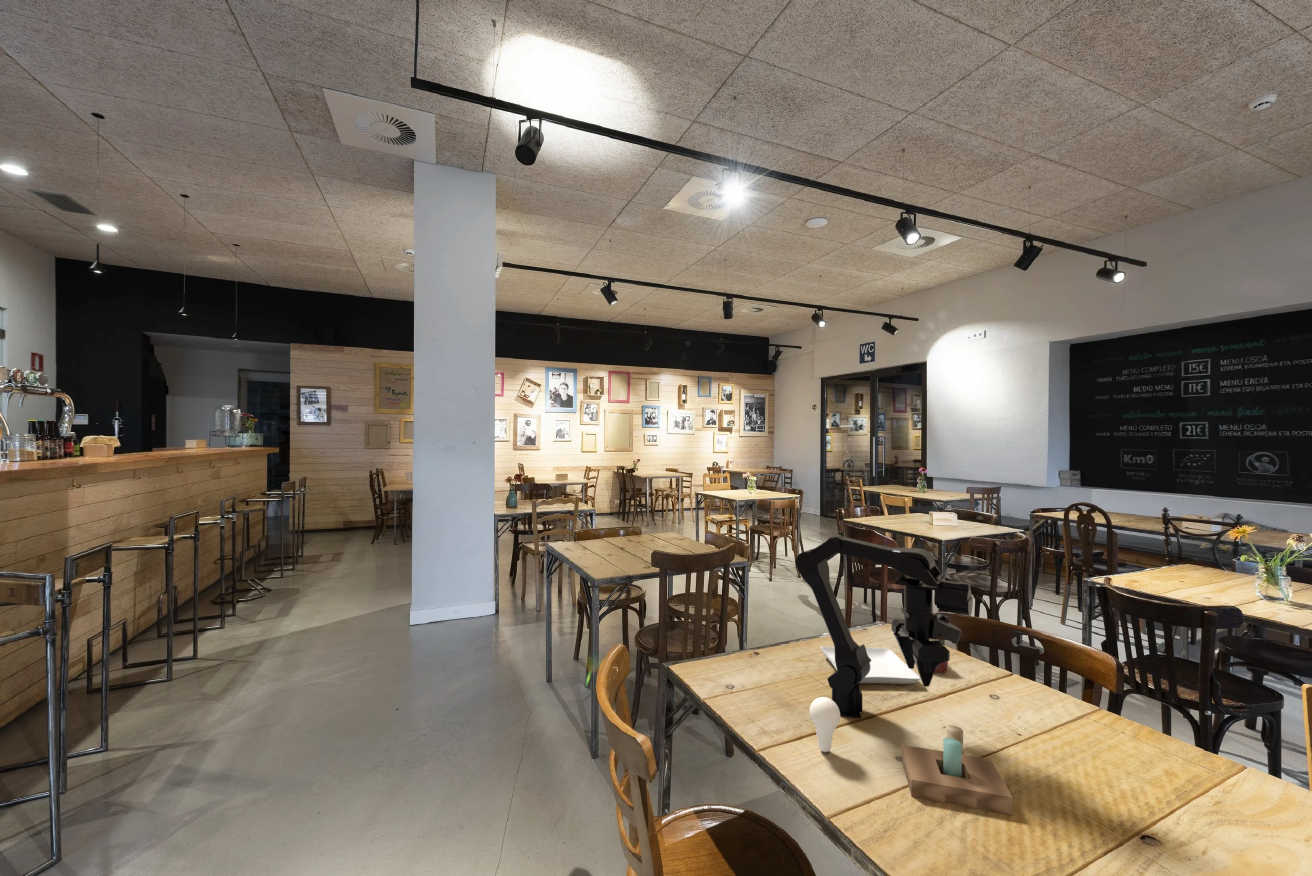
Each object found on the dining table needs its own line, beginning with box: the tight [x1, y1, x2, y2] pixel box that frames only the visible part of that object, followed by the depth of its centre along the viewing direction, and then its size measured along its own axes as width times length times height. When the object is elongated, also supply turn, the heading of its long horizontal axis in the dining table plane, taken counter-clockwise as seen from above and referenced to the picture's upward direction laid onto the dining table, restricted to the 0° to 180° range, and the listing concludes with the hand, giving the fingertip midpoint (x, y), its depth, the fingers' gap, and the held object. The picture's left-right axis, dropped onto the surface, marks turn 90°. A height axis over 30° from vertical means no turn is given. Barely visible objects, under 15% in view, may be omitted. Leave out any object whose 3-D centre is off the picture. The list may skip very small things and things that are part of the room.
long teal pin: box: [942, 737, 962, 778], centre depth 100 cm, size 3×3×8 cm
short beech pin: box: [946, 724, 964, 755], centre depth 111 cm, size 3×3×5 cm
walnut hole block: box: [901, 744, 1013, 816], centre depth 100 cm, size 16×12×3 cm
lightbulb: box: [809, 696, 841, 753], centre depth 111 cm, size 6×6×11 cm
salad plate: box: [820, 646, 921, 685], centre depth 151 cm, size 21×21×3 cm
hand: (918, 676), depth 118 cm, fingers open, 9 cm apart
